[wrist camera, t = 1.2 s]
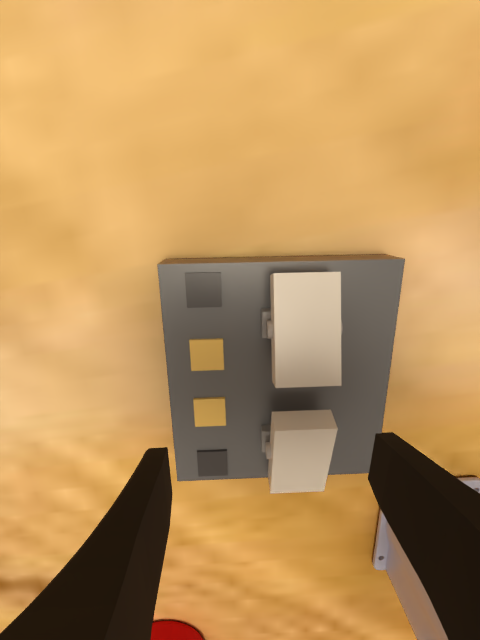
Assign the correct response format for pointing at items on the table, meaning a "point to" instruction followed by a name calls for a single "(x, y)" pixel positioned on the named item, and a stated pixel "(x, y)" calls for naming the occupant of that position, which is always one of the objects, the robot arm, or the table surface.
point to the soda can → (173, 631)
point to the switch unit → (269, 360)
